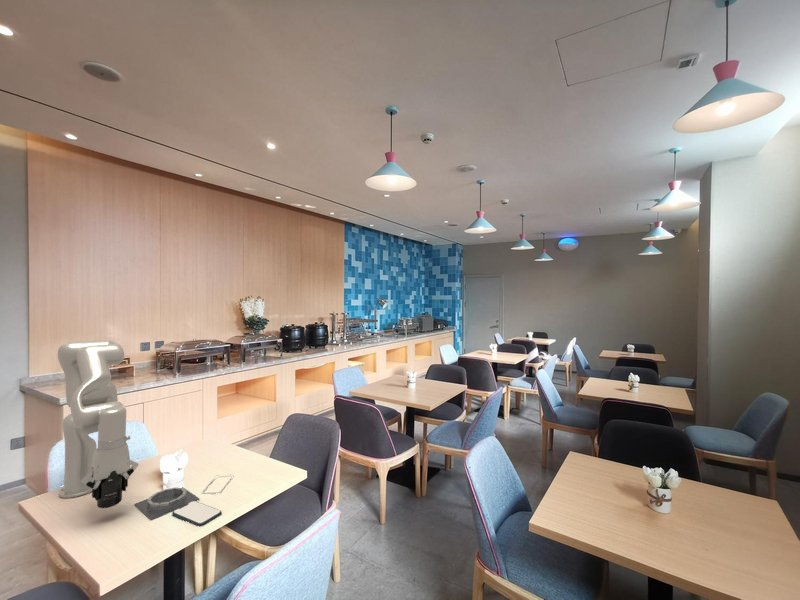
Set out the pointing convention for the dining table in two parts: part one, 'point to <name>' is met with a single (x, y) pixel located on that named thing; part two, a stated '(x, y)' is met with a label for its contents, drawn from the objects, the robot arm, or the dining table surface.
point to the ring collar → (165, 502)
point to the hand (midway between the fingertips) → (110, 493)
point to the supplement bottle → (110, 490)
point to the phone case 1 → (196, 513)
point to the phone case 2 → (214, 492)
